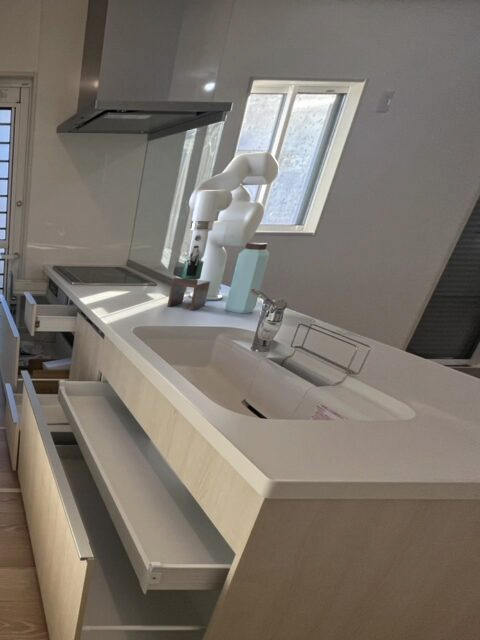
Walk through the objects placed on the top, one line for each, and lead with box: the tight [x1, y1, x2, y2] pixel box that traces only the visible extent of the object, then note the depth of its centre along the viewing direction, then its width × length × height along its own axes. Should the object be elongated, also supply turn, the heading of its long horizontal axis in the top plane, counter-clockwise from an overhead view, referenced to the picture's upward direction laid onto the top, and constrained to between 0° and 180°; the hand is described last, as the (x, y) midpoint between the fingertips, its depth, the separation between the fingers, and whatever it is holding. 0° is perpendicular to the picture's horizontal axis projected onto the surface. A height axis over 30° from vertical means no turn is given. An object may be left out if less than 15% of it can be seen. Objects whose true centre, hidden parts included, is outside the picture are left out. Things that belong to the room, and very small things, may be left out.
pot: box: [181, 259, 204, 280], centre depth 161 cm, size 7×7×6 cm
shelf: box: [166, 277, 210, 311], centre depth 165 cm, size 11×10×12 cm
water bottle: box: [225, 242, 270, 314], centre depth 155 cm, size 10×10×25 cm
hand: (191, 273), depth 162 cm, fingers closed on pot, 6 cm apart
